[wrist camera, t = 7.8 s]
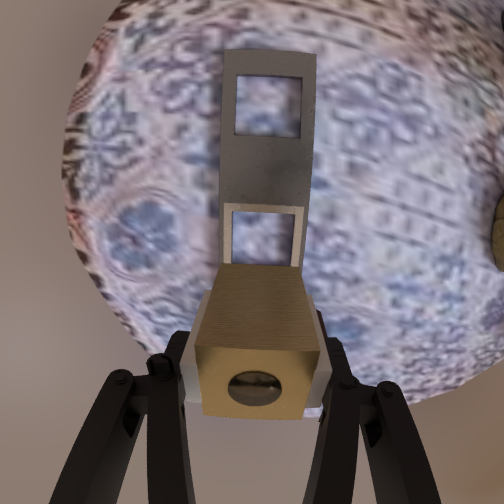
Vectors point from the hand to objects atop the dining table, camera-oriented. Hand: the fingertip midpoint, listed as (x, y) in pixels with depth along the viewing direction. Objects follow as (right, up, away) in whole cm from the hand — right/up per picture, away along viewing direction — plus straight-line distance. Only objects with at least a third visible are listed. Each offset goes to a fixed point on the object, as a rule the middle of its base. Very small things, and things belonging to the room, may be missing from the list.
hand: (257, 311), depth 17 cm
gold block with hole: (0, +1, +1) cm, 2 cm away
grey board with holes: (+1, +12, +10) cm, 15 cm away
